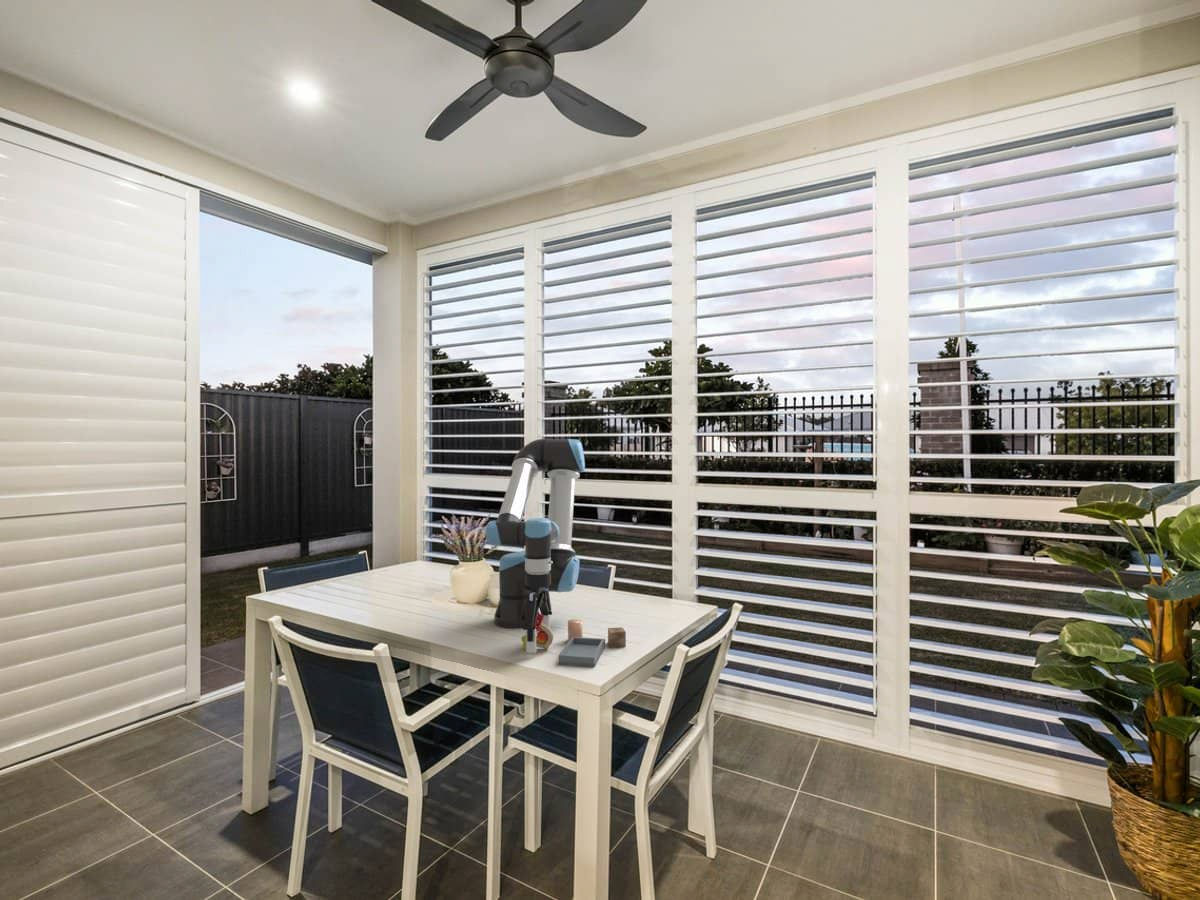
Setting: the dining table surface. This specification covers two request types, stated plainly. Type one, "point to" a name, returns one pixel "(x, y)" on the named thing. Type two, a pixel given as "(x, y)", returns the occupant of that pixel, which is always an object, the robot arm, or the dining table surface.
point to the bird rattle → (541, 634)
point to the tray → (582, 652)
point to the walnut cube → (617, 637)
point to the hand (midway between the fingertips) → (538, 644)
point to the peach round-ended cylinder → (574, 628)
